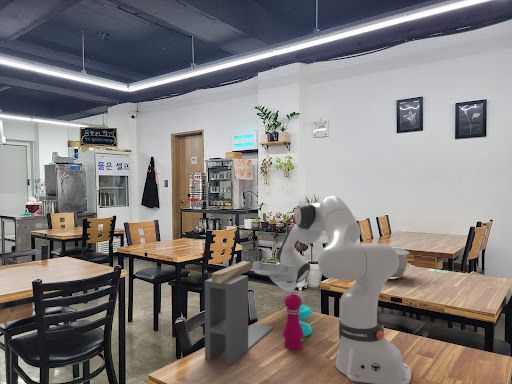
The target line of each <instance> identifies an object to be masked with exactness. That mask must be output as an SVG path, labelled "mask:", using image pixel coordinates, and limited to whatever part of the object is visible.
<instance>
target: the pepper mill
mask: <svg viewBox="0 0 512 384" xmlns="http://www.w3.org/2000/svg"><path fill="white" fill-rule="evenodd" d="M284 305H285V307H286V308H285V312H287V313H286V315H287V319H286V323H285V325H284V326H283V329H282V330H283V331H282V332H283V333H282V336H283V337H284V342H283V343H284V344H283V345H284V347H285V348H286V349H288V350H300V349H301V348H302V346H303V341H302V339H303V338H304V337H303V330H302V327H301V325H300V322H301V321H300V319H299V313H300V308H299V307H300V306H301V305H302V299H301V297H300V296H299V295H297V294H296V290H295V289H293V290H291V291H290V294H288V295H286V297H285V298H284ZM299 321H300V322H299Z"/></svg>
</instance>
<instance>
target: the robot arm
mask: <svg viewBox="0 0 512 384" xmlns="http://www.w3.org/2000/svg"><path fill="white" fill-rule="evenodd" d="M294 217H295V218H294V219H295V224H293V225H292V226H291V227H290V228H289V230H288V232H287V234H286V236H285V237H284V240H283V242H282V243H281V246H280V247H279V249H278V250H277V252H276V259H277V261H278V263H272V262H271V263H269V262H262V261H261V260H257V261H253V263H252V265H251V270H252V271H253V272H255V273H256V274H259V275H263V276H264V275H265V276H269V279H270V280H271V281H272V282H273V283H274V284H276V285H277V286H278V287H279V288H280V289H282V290H284V291H287V292H289V291H290V292H291V291H292V290H295V289H296V288H297V286H298V284H299V283H302V282H303V281H304V280H305V279H306V278H308V276H309V274H310V272H311V264H310V263H309V262H308V261H307V259H306V258H305V257H304V256H302V255H301V253H300V252H299V251H298V250H297V249H296V247H295V244H296V242H297V241H298V242H299V243H301V244H306V245H307V244H308V245H309V244H314V243H316V242H317V241H318V240H320V238H321V236H322V234H323V232H324V231H325V232H326V236H327V238H328V244H327V245H326V246H324V247H323V248H322V249H321V251H320V252H319V254H318V259H317V264H318V268H319V271H320V272H321V274H322V275H323V277H325V278H327V279H331V280H339V281H345V280H348V281H350V280H351V281H352V280H355V282H354V284H353V286H351V287H350V288H349V289H347V290H346V291H344V292H343V293H342V295H341V297H340V320H338V321H339V322H338V338H339V343H338V344H339V345H338V353H337V357H336V360H335V367H336V369H337V370H338V371H339V372H340V373H342V374H344V375H345V376H346V377H347V378H348V379H349V381H351V382H359V383H365V384H410V383H411V381H412V376H413V375H412V370H411V367H410V366H409V365H408V364H407V363H405V362H404V359H403V355H402V352H401V351H400V349H399V348H398V347H396V346H395V345H394V344H393V343H392V342H390V341H389V340H388V339H387V338H386V337H385V330H384V329H385V328H384V324H382V325H381V324H380V323H378V303H379V299H380V295H381V292H382V290H383V288H384V286H385V284H386V283H387V281H389V280H388V279H389V278H390V277H391V276H392V275H393V274H395V273H396V271H397V269H398V266H399V257H398V254H397V252H396V251H395V249H394V248H395V247H393V246H391V245H389V244H384V243H377V242H373V243H372V242H371V243H357V241H358V240H359V239H360V236H361V227H360V225H359V223H358V222H357V220H356V218H355V215H354V214H353V212H352V211H351V209H350V208H349V207H348V205H347V204H346V203H345V202H344V200H342V199H341V198H340V197H339V196H335V195H329V196H327V197H325V198H323V200H321V202H303V203H301V204H299V205H298V206H297V207H296V210H295V214H294Z"/></svg>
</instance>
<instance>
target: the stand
mask: <svg viewBox="0 0 512 384" xmlns="http://www.w3.org/2000/svg"><path fill="white" fill-rule="evenodd" d="M248 329H249V275H243V274H240V275H238V276H236V277H234V278H231V279H229V280H227V281H225V282H222V283H220V284H219V283H212V277H211V278H209V279H206V280H204V359H205V360H208V361H210V360H212V359H214V357H216V356H217V355H219V354H220V353H221V352H222V351H224V350H225V364H226V365H229V366H232V365H233V364H234V363H236V361H238V360H240V358H241V357H243V355H244V354H245V353H247V352H248V351H249V350H248Z"/></svg>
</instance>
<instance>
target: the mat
mask: <svg viewBox="0 0 512 384" xmlns="http://www.w3.org/2000/svg"><path fill="white" fill-rule="evenodd" d="M273 329H274V326H270V325H265V324H264V325H263V324H259V323H254V324H253V325H252V326H250V327H248V351H249V350H250V349H251V348H253V347H254V346H255V345H256V344H257V343H258V342H260V340H262V339H263V338H264V337H265V336H267V334H268V333H270V332H271V331H272V330H273Z"/></svg>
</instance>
